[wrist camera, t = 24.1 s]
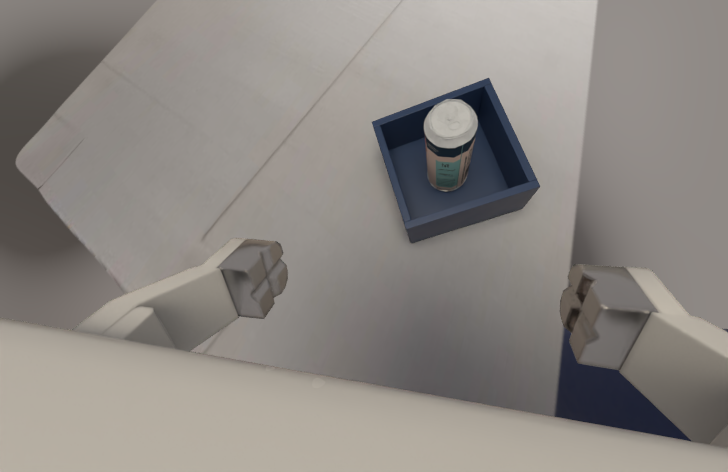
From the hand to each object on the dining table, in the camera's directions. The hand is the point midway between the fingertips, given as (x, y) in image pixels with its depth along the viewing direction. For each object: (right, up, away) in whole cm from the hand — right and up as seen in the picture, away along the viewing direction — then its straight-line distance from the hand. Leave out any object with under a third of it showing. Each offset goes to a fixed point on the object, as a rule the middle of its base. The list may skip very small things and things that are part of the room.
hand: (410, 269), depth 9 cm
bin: (+9, +8, +31) cm, 33 cm away
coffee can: (+9, +9, +30) cm, 33 cm away
